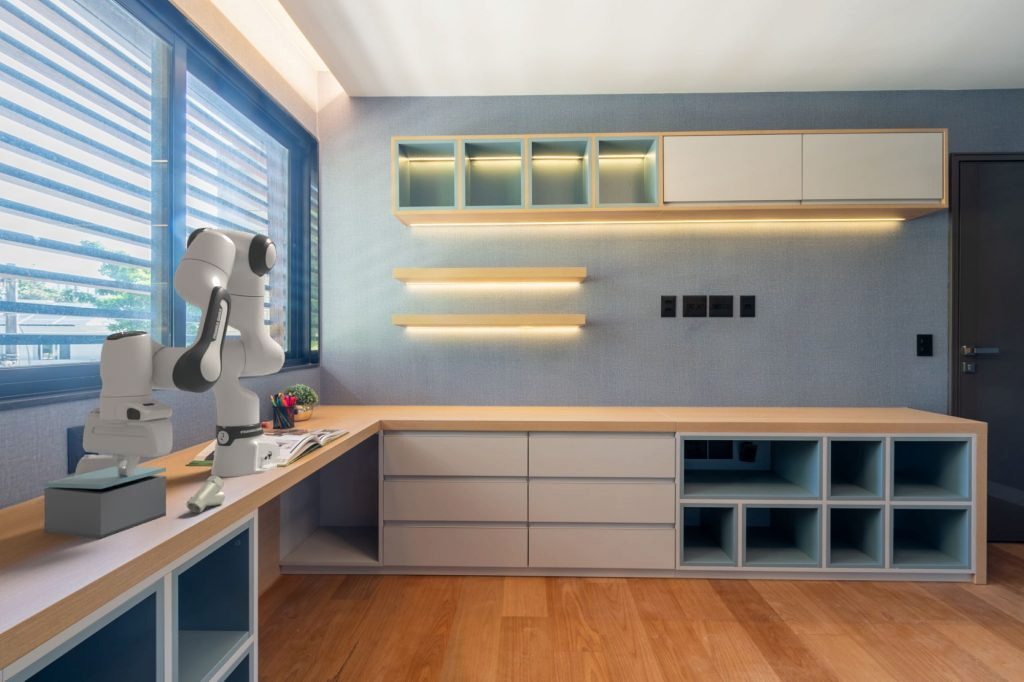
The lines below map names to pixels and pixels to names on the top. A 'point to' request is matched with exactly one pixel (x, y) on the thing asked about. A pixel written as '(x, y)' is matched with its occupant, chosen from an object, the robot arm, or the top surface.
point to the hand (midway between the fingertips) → (126, 475)
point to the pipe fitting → (207, 495)
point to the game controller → (94, 463)
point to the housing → (104, 507)
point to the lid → (102, 478)
